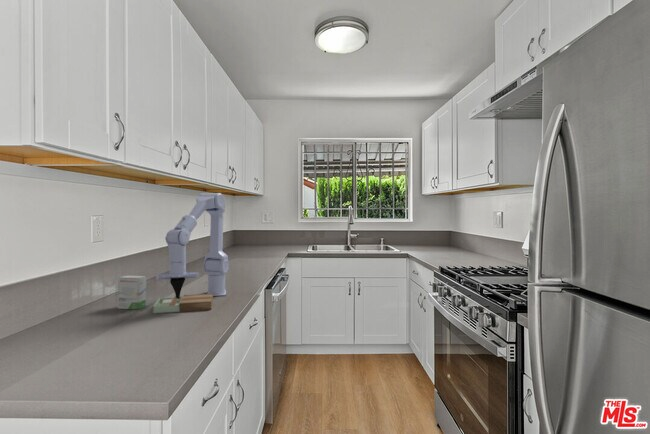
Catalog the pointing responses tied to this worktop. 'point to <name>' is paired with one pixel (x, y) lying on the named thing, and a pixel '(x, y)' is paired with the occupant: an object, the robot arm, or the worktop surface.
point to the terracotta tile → (174, 301)
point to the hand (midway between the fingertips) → (177, 298)
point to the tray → (166, 309)
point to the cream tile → (166, 302)
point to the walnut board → (196, 302)
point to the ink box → (131, 292)
